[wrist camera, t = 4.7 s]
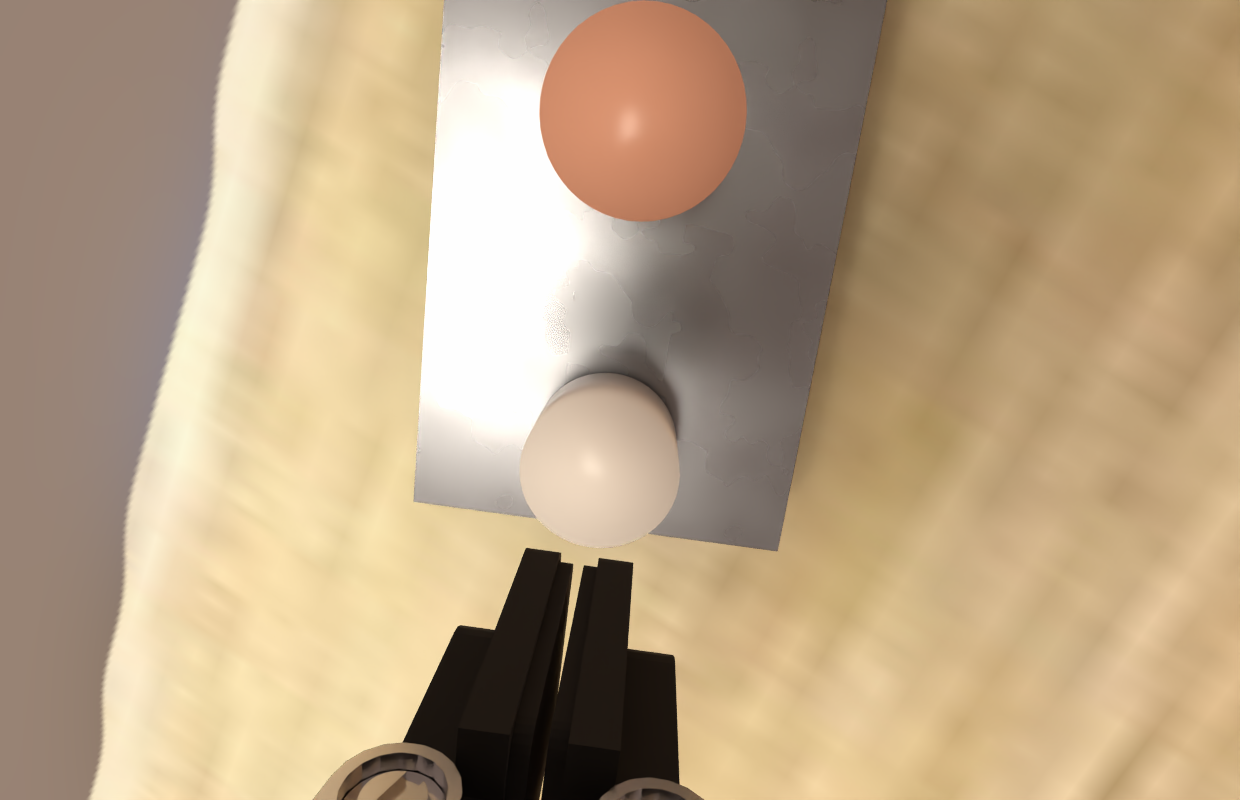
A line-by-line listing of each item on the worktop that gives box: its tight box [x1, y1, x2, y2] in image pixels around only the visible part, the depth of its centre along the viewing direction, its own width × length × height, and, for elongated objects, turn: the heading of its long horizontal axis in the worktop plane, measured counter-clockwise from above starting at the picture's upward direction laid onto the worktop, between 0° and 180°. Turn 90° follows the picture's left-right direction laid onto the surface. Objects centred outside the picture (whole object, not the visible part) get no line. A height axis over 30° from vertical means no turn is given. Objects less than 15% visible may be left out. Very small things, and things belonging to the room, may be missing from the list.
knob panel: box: [414, 0, 887, 551], centre depth 23 cm, size 24×12×5 cm, turn 173°
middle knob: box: [539, 0, 747, 222], centre depth 19 cm, size 4×4×8 cm
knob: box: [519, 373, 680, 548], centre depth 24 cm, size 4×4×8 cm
